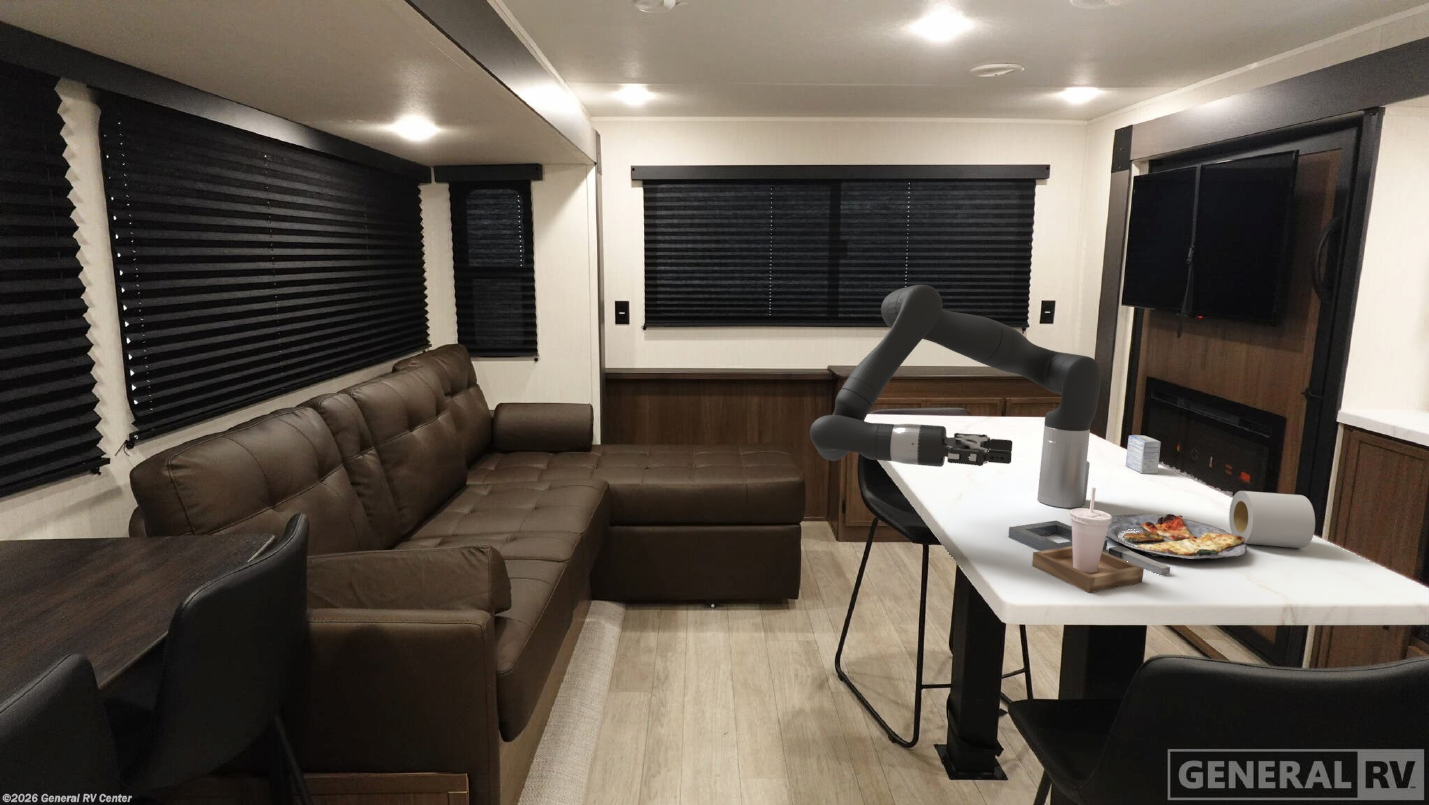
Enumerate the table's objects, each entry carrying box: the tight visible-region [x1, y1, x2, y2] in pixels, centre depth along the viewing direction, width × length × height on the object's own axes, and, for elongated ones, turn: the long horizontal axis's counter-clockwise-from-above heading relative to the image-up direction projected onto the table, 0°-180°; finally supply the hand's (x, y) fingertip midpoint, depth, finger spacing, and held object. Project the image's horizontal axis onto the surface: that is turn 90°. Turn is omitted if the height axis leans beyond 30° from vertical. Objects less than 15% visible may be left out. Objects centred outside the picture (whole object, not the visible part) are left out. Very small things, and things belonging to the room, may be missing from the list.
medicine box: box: [1125, 434, 1162, 475], centre depth 200 cm, size 8×4×9 cm, turn 179°
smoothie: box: [1069, 487, 1113, 573], centre depth 128 cm, size 6×6×14 cm
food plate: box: [1106, 513, 1248, 560], centre depth 145 cm, size 25×23×4 cm
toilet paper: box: [1228, 490, 1316, 549], centre depth 145 cm, size 10×10×10 cm
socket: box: [1007, 520, 1108, 552], centre depth 144 cm, size 12×12×2 cm
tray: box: [1031, 546, 1145, 594], centre depth 129 cm, size 12×12×2 cm
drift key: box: [1107, 545, 1171, 576], centre depth 134 cm, size 10×3×2 cm, turn 21°
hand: (1011, 451), depth 135 cm, fingers open, 8 cm apart
